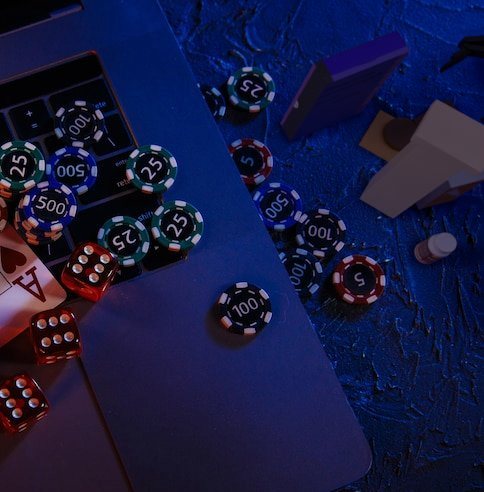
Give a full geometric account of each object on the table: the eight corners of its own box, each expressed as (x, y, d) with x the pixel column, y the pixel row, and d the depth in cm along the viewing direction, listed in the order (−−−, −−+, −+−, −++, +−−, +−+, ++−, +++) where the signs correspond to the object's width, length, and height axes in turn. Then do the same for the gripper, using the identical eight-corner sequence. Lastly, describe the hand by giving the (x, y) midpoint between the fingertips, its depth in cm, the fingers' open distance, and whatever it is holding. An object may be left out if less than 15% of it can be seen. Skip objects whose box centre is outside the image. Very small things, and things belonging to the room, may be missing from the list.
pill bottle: (418, 266, 127) (439, 256, 119) (410, 245, 128) (430, 233, 120) (440, 261, 127) (462, 251, 119) (432, 240, 129) (453, 228, 120)
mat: (428, 138, 135) (429, 137, 134) (408, 173, 133) (408, 172, 132) (379, 110, 137) (380, 109, 136) (358, 144, 134) (359, 144, 134)
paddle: (459, 121, 136) (464, 117, 134) (397, 157, 133) (401, 154, 131) (437, 95, 138) (441, 90, 136) (375, 130, 135) (379, 126, 133)
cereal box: (349, 95, 138) (397, 29, 114) (360, 113, 136) (410, 50, 113) (280, 123, 136) (314, 62, 113) (290, 141, 135) (327, 83, 111)
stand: (416, 197, 131) (502, 135, 102) (399, 227, 129) (482, 172, 100) (366, 168, 133) (436, 98, 104) (348, 197, 131) (415, 134, 102)
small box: (418, 210, 130) (450, 188, 118) (406, 183, 132) (437, 158, 119) (453, 201, 131) (489, 178, 118) (441, 174, 133) (476, 148, 120)
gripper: (567, 100, 134) (492, 147, 131) (491, 15, 140) (417, 58, 137) (593, 82, 127) (514, 131, 124) (512, -7, 132) (434, 38, 129)
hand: (463, 93), depth 130 cm, fingers open, 13 cm apart
